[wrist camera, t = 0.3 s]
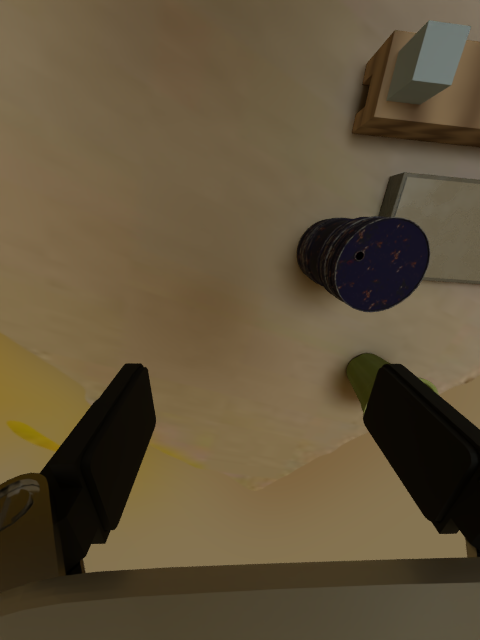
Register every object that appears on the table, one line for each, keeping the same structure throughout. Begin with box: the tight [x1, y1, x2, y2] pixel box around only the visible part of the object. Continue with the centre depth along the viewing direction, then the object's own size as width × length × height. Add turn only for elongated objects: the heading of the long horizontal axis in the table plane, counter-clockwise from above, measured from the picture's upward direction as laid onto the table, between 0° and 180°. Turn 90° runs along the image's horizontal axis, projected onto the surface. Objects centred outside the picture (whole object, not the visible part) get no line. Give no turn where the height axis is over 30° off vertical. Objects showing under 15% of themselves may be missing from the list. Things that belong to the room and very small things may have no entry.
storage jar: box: [297, 216, 430, 312], centre depth 30 cm, size 10×10×15 cm
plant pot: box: [346, 353, 439, 415], centre depth 41 cm, size 12×12×11 cm
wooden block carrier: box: [352, 30, 480, 147], centre depth 28 cm, size 22×7×6 cm, turn 86°
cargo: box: [386, 20, 471, 105], centre depth 23 cm, size 4×4×4 cm
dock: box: [379, 172, 480, 284], centre depth 35 cm, size 14×24×3 cm, turn 86°
